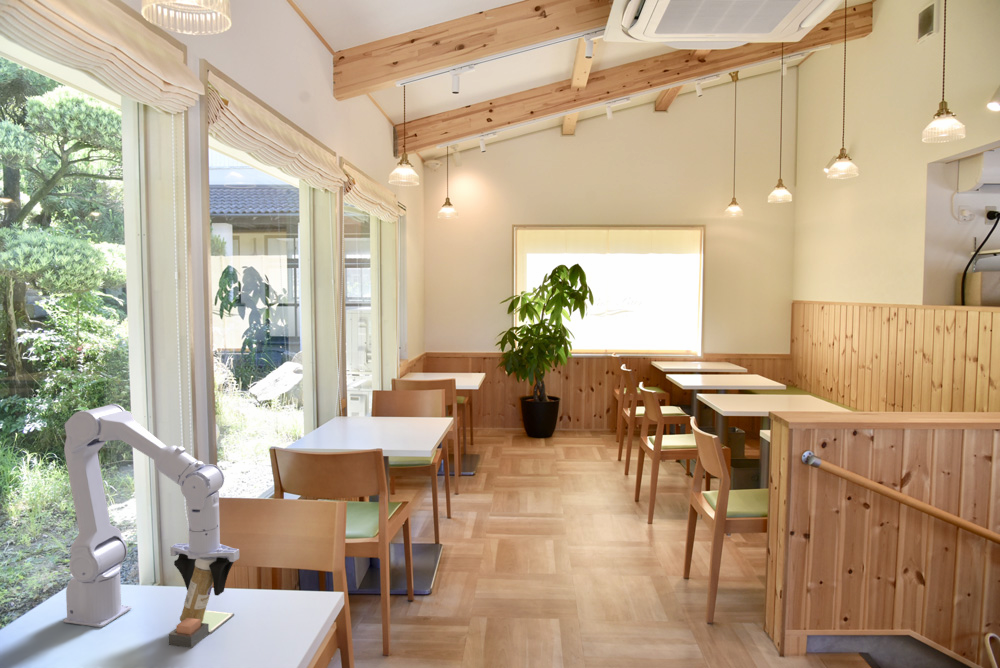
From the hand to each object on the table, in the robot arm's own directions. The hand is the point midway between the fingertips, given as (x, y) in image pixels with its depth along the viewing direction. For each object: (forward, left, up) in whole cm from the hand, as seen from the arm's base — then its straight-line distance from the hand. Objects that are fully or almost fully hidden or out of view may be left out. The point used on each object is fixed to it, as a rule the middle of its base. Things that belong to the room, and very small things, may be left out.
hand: (205, 591), depth 129 cm
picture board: (0, 0, -6) cm, 6 cm away
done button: (+1, -6, -5) cm, 8 cm away
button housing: (+1, -7, -6) cm, 9 cm away
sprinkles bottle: (-2, -2, -6) cm, 6 cm away
